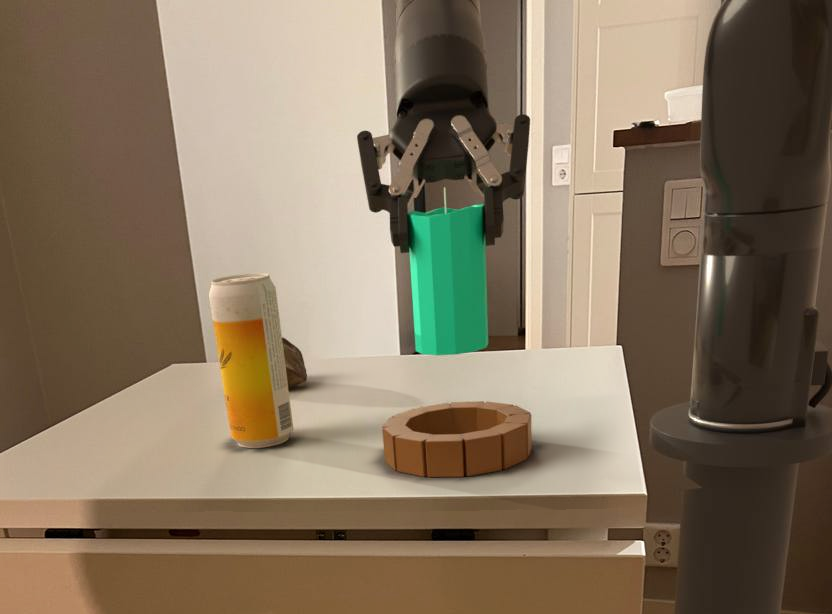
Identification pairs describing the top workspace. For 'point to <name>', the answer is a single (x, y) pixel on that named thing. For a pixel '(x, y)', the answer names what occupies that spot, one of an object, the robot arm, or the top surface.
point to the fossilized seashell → (293, 364)
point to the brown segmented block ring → (457, 439)
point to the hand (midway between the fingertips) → (447, 241)
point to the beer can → (251, 359)
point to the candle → (449, 279)
